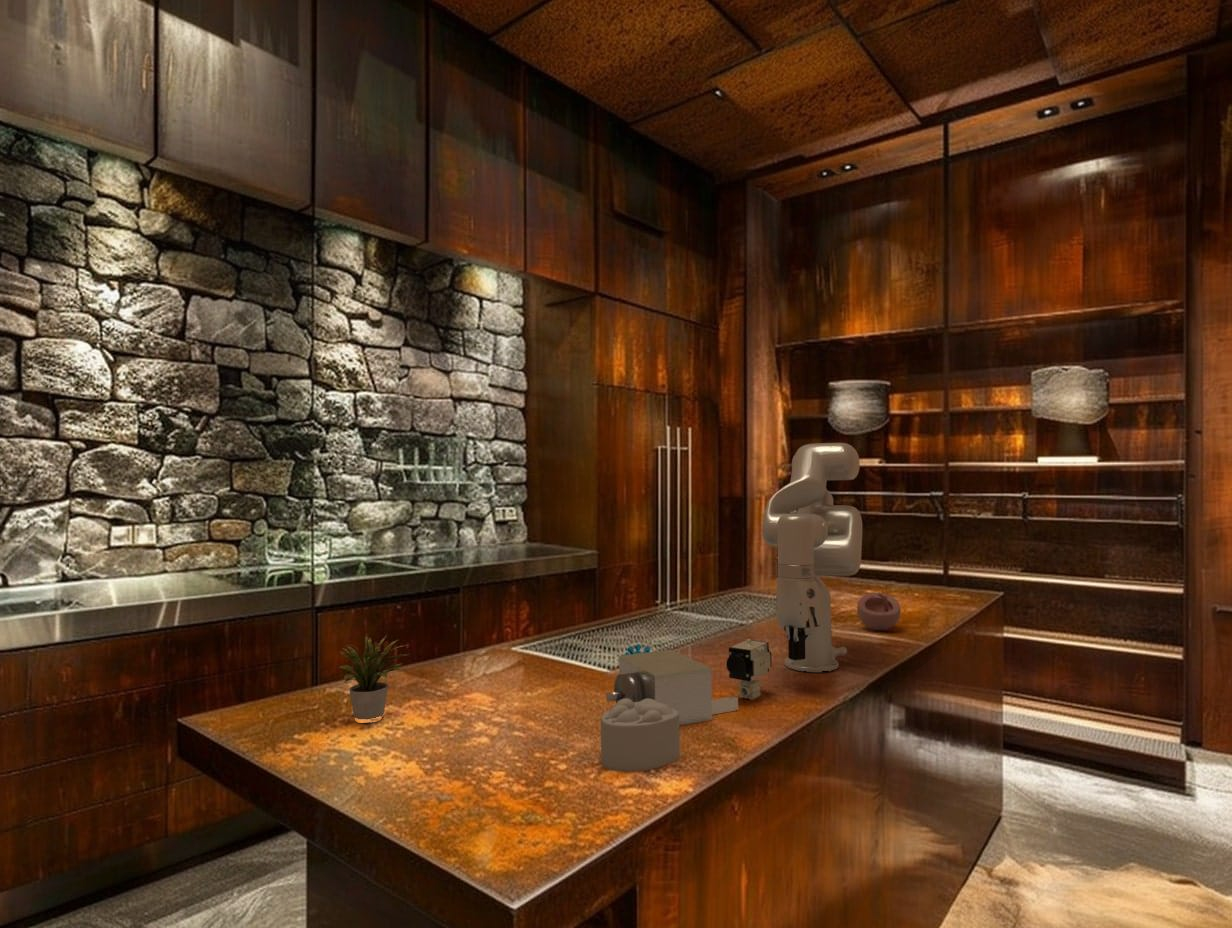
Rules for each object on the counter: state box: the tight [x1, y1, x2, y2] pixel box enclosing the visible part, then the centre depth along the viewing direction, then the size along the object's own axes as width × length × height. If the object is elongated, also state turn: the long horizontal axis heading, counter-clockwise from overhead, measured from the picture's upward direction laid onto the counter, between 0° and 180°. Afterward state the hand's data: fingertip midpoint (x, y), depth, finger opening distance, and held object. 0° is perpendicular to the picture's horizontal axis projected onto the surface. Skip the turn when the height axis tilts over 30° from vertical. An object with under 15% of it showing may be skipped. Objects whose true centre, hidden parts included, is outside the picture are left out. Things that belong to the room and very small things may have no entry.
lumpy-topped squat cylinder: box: [600, 698, 681, 773], centre depth 116 cm, size 10×13×9 cm
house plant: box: [335, 633, 411, 719], centre depth 135 cm, size 14×14×16 cm
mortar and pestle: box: [857, 592, 901, 632], centre depth 209 cm, size 12×12×11 cm
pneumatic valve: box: [726, 638, 773, 701], centre depth 146 cm, size 6×12×12 cm, turn 142°
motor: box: [605, 649, 739, 727], centre depth 138 cm, size 26×16×10 cm, turn 114°
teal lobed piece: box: [624, 644, 652, 655], centre depth 161 cm, size 11×6×10 cm
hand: (797, 658), depth 150 cm, fingers closed
